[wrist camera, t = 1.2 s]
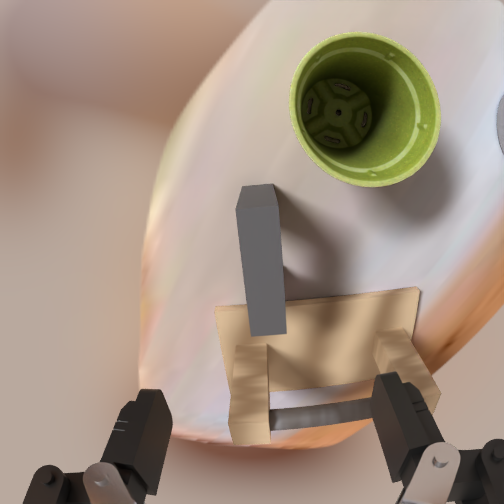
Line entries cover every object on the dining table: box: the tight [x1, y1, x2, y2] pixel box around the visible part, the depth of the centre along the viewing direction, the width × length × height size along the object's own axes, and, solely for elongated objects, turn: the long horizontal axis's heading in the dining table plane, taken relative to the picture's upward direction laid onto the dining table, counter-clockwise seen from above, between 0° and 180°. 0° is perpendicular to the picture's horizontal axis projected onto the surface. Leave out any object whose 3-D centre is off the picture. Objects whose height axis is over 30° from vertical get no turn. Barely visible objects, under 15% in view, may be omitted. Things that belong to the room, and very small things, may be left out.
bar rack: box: [214, 287, 441, 445], centre depth 27 cm, size 20×11×11 cm, turn 96°
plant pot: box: [289, 32, 441, 187], centre depth 20 cm, size 9×9×9 cm
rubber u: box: [236, 184, 287, 337], centre depth 24 cm, size 2×9×8 cm, turn 5°
